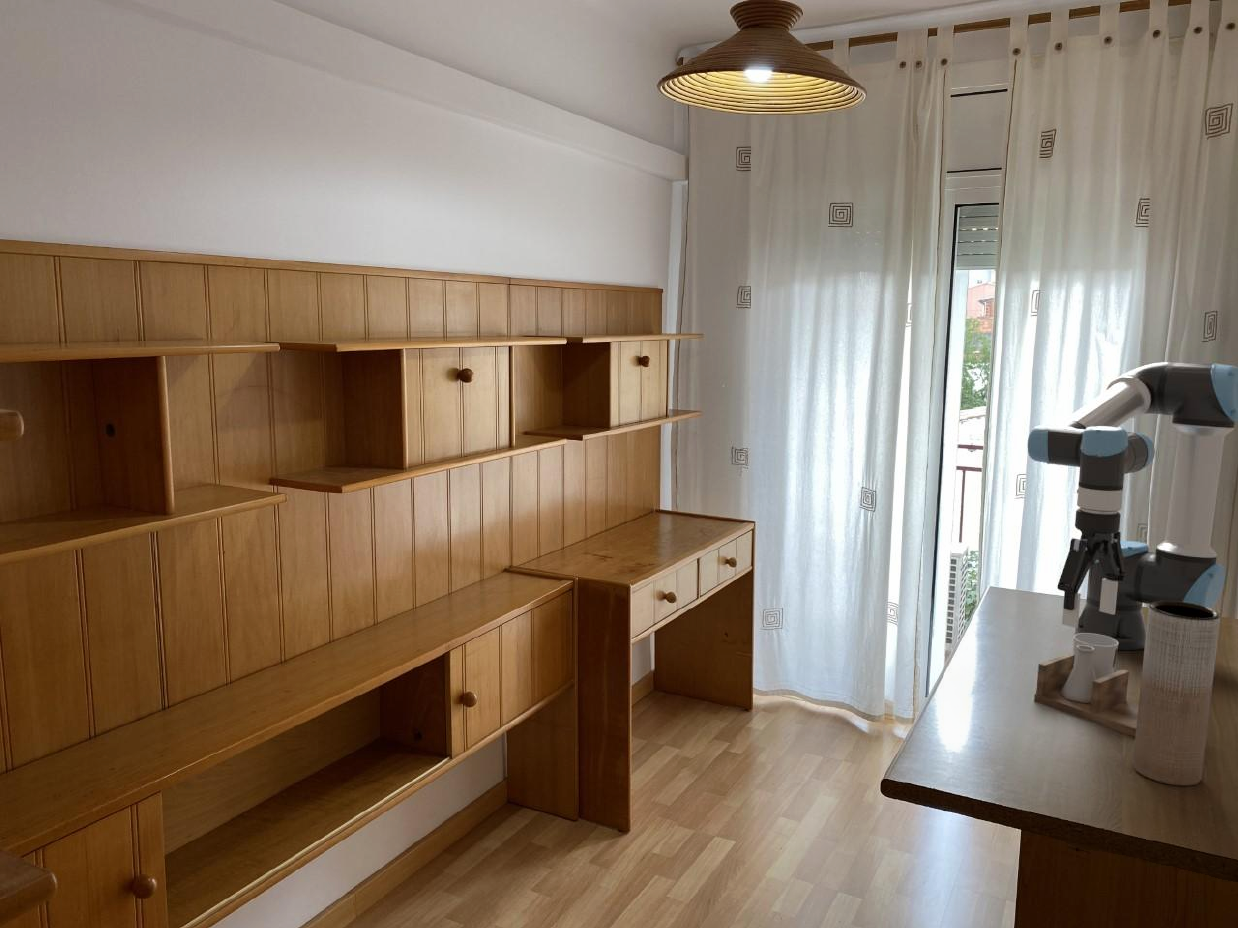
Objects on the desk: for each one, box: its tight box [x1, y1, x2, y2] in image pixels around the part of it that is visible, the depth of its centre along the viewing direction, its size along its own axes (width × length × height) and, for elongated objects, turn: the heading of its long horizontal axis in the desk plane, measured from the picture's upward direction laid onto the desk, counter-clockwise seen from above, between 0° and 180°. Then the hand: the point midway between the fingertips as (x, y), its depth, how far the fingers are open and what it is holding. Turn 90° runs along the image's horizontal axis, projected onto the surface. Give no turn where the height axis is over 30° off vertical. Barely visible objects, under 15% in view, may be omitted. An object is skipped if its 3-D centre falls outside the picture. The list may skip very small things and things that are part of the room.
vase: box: [1132, 601, 1221, 787], centre depth 158 cm, size 10×10×28 cm
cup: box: [1072, 633, 1118, 680], centre depth 197 cm, size 8×8×10 cm
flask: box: [1061, 645, 1096, 703], centre depth 188 cm, size 7×7×10 cm
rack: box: [1033, 653, 1139, 738], centre depth 184 cm, size 12×23×8 cm, turn 36°
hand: (1088, 619), depth 186 cm, fingers open, 13 cm apart
